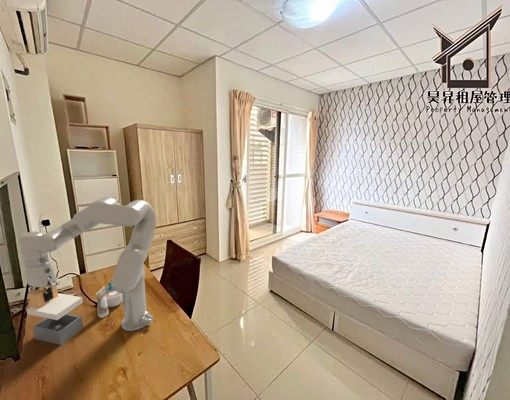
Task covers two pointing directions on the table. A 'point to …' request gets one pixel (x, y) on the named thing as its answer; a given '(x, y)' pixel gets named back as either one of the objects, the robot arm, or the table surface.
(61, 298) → the lid
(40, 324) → the tub
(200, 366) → the table surface
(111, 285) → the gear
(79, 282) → the table surface
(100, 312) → the cosmetic set
